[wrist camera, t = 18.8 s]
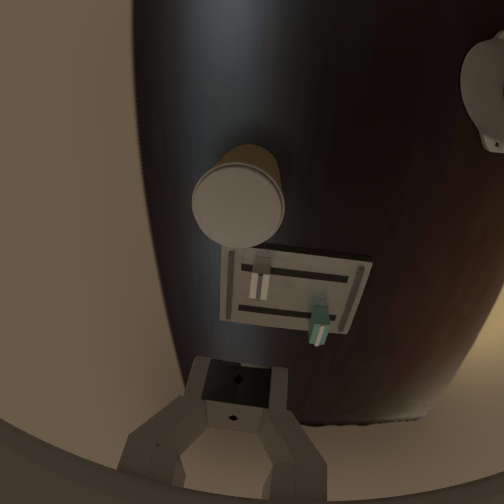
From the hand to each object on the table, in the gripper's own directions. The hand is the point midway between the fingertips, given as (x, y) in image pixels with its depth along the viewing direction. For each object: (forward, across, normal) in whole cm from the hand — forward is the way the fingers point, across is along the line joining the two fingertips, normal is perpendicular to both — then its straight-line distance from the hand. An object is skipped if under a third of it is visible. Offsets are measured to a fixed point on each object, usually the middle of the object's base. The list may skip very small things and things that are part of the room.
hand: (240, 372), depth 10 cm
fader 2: (+32, -10, +27) cm, 43 cm away
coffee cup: (+34, +3, +5) cm, 35 cm away
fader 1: (+32, 0, +19) cm, 38 cm away
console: (+34, -5, +23) cm, 41 cm away
